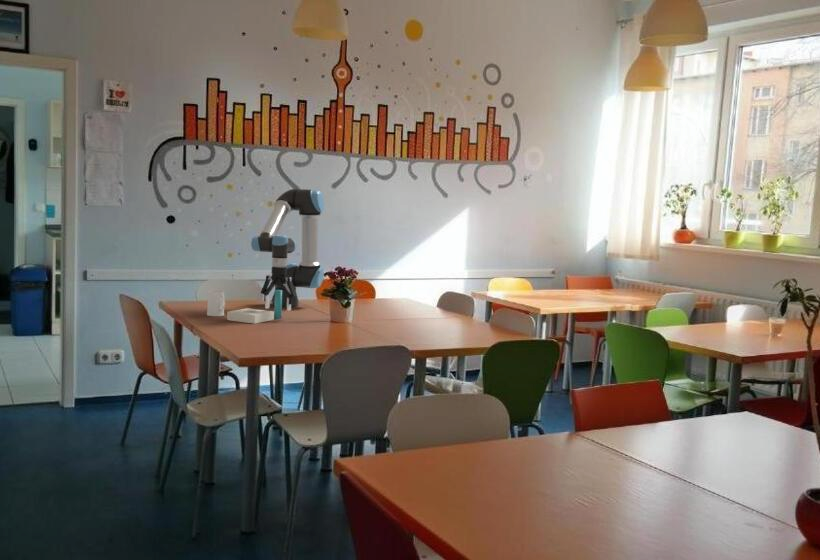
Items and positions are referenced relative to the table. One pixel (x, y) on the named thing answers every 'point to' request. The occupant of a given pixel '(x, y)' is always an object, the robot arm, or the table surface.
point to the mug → (216, 303)
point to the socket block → (250, 315)
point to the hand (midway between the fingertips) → (277, 309)
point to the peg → (278, 304)
